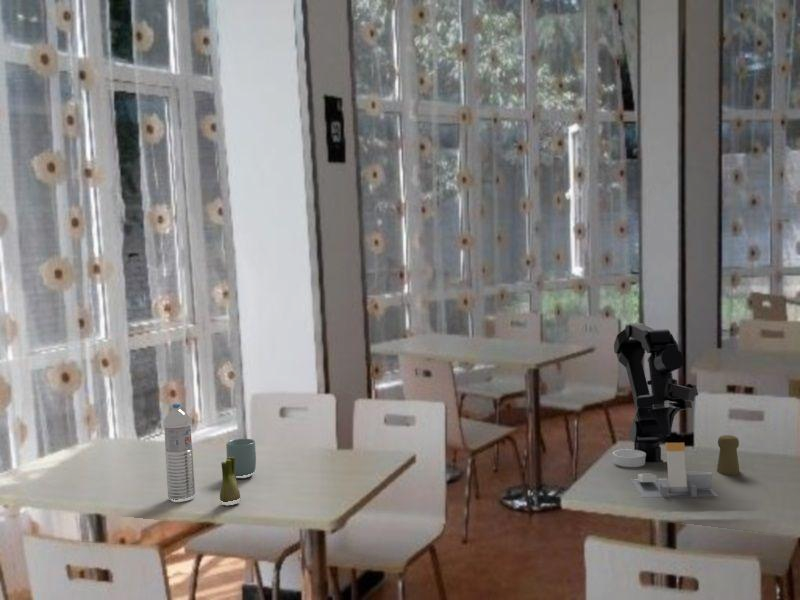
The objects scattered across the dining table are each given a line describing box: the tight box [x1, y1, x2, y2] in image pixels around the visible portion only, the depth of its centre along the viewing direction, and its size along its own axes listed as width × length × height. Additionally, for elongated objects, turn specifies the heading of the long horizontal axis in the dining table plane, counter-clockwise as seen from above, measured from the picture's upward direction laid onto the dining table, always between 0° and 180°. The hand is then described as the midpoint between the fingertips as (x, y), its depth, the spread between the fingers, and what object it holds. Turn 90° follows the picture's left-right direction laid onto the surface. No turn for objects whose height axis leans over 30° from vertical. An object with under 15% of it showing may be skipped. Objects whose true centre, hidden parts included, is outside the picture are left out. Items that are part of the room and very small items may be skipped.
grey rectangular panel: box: [686, 471, 713, 489], centre depth 216 cm, size 1×6×5 cm, turn 86°
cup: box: [225, 438, 257, 476], centre depth 245 cm, size 8×8×10 cm
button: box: [686, 469, 699, 472], centre depth 221 cm, size 4×4×2 cm
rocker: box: [637, 473, 658, 482], centre depth 222 cm, size 5×4×2 cm
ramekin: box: [612, 448, 646, 468], centre depth 242 cm, size 9×9×4 cm
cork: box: [716, 434, 741, 476], centre depth 231 cm, size 6×6×11 cm
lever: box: [665, 442, 688, 494], centre depth 214 cm, size 2×4×12 cm, turn 87°
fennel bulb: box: [219, 456, 241, 502], centre depth 222 cm, size 6×5×12 cm
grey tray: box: [629, 477, 719, 498], centre depth 220 cm, size 15×18×4 cm
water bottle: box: [163, 402, 196, 500], centre depth 227 cm, size 7×7×25 cm
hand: (667, 436), depth 229 cm, fingers closed
